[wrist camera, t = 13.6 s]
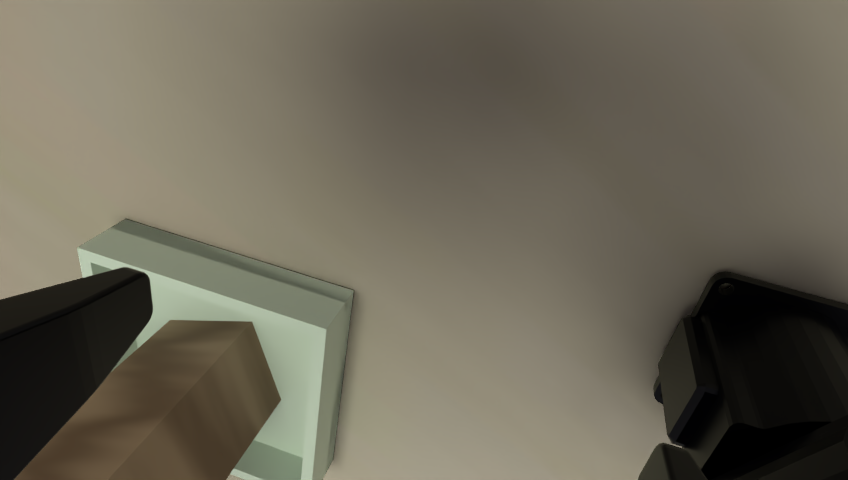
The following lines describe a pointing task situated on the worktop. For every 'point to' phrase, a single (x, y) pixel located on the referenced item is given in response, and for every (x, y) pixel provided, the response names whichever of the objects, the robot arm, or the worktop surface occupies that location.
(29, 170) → the worktop surface
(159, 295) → the tray
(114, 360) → the robot arm
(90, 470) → the block
